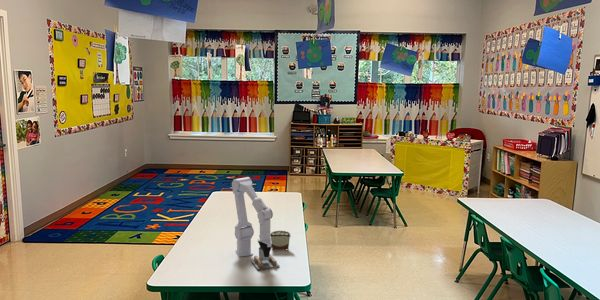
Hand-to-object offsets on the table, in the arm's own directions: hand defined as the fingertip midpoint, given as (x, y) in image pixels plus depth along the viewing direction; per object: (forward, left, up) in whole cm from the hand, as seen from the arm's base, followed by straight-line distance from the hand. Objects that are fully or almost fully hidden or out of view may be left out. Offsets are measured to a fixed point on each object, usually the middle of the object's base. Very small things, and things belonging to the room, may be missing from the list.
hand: (265, 255), depth 238 cm
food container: (-19, +16, -6) cm, 25 cm away
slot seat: (0, 0, -6) cm, 6 cm away
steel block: (0, -1, -2) cm, 2 cm away
